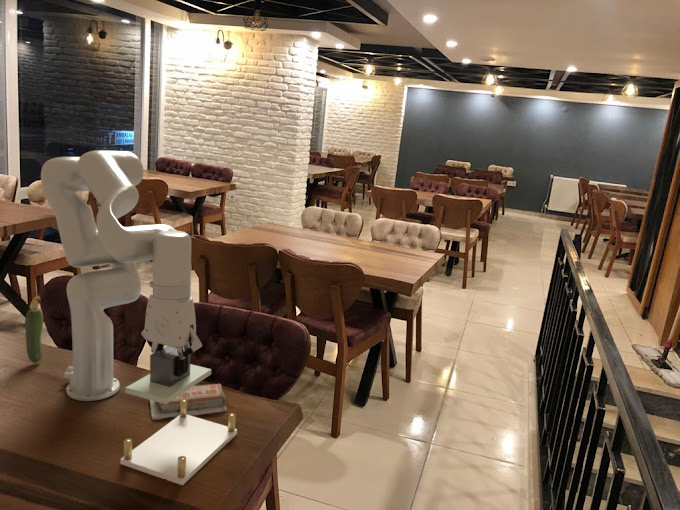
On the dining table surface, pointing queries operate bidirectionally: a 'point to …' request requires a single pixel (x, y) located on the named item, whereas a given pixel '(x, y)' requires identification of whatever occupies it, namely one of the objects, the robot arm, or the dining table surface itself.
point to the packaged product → (192, 402)
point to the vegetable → (34, 331)
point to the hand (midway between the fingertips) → (170, 370)
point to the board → (167, 391)
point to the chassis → (179, 447)
